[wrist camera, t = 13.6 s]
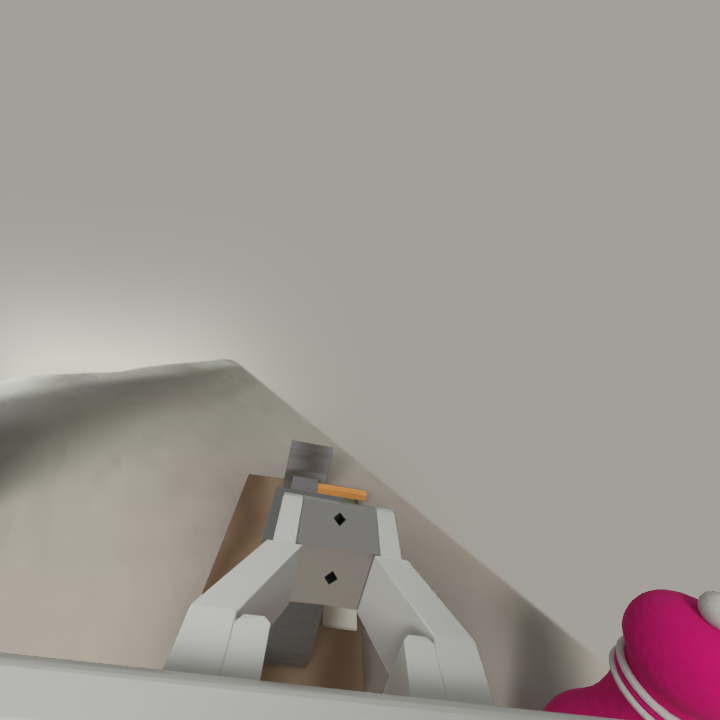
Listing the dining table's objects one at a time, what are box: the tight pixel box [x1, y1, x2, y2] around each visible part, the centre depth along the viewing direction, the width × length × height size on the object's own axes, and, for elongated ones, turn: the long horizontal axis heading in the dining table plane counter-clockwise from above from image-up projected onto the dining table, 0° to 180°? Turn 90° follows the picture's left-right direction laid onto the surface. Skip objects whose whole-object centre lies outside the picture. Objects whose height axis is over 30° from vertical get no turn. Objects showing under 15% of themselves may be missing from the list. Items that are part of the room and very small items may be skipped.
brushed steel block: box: [261, 487, 341, 668], centre depth 30 cm, size 5×10×12 cm, turn 2°
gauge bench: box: [202, 440, 364, 692], centre depth 36 cm, size 14×22×8 cm, turn 1°
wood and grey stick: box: [291, 476, 367, 501], centre depth 44 cm, size 9×2×2 cm, turn 91°
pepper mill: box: [543, 590, 720, 720], centre depth 23 cm, size 7×7×20 cm
